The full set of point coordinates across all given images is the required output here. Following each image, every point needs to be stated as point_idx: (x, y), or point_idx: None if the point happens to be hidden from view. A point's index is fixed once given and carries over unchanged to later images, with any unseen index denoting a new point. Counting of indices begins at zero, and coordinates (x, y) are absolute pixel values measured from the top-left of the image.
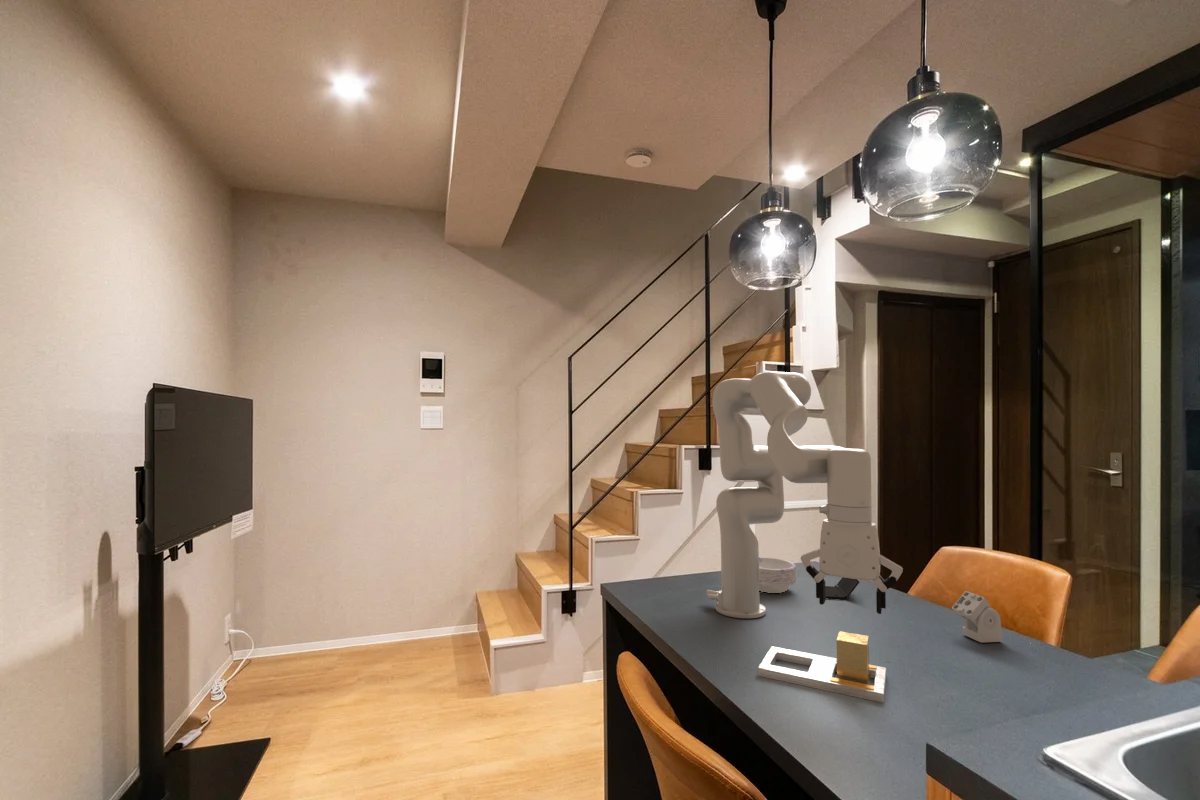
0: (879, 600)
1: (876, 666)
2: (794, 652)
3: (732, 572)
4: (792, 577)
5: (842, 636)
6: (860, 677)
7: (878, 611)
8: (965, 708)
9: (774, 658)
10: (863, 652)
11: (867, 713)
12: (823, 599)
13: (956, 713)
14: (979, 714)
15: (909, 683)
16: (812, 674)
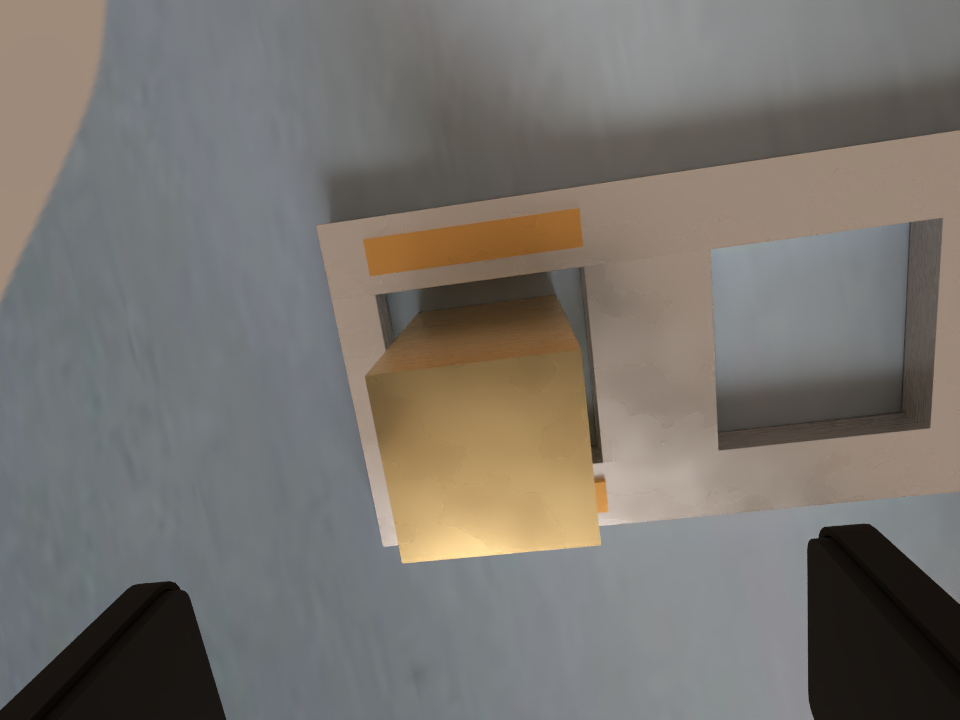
0: (22, 707)
1: None
2: (831, 475)
3: None
4: None
5: (557, 449)
6: (443, 319)
7: (148, 592)
8: (62, 390)
9: (922, 360)
10: (400, 357)
11: (362, 54)
12: (845, 569)
13: (74, 319)
14: (9, 366)
15: (293, 504)
16: (681, 237)
